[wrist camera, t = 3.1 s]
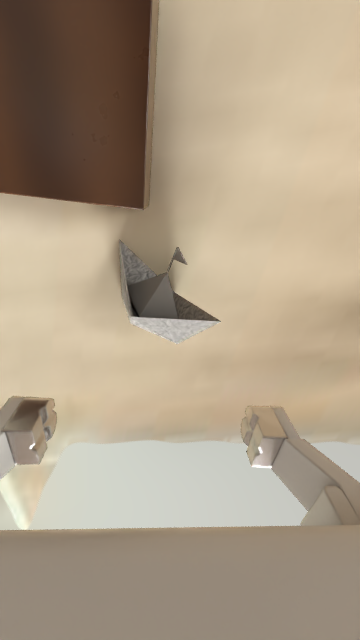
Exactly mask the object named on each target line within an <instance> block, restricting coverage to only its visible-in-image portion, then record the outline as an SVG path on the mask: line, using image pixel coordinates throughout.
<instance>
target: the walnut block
mask: <svg viewBox="0 0 360 640" xmlns="http://www.w3.org/2000/svg"><path fill="white" fill-rule="evenodd" d="M158 15H159V0H0V193H6V194H14V195H23V196H31V197H39V198H48V199H56V200H64V201H72V202H81V203H89V204H97V205H105V206H114V207H122V208H130V209H139V210H144V209H145V208H147V207H148V206H149V194H150V174H151V154H152V134H153V114H154V94H155V74H156V55H157V35H158Z"/></svg>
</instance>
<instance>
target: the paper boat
mask: <svg viewBox="0 0 360 640" xmlns="http://www.w3.org/2000/svg"><path fill="white" fill-rule="evenodd" d="M119 247H120V268H121V290H122V299H123V302H124V305H125V308H126V311H127V314H128V318H129V321H130V324H133V325H135V326H137V327H140V328H142V329H144V330H146V331H149V332H151V333H153V334H156V335H158V336H160V337H162V338H165V339H167V340H169V341H172V342H174V343H176V344H178V343H180V342H182V341H184V340H186V339H188V338H190V337H192V336H194V335H196V334H198V333H200V332H202V331H204V330H206V329H208V328H209V327H211V326H213V325H215V324H217V323H219V322H221V321H219V320H218V319H216V318H215V317H213V316H211V315H210V314H208V313H207V312H205V311H203V310H202V309H200V308H199V307H197V306H195V305H194V304H192V303H191V302H189V301H187V300H186V299H184V298H183V297H181V296H179V295H178V294H176V293H175V292H174V291H173V290H172V289H171V285H170V281H169V276H168V272H169V269H170V267H171V264H172V262H173V259H174V260H177V261H179V262H181V263H184V264H186V265H187V262H186V261H185V259H184V257H183V255H182V253H181V251H180V250H179V248H178V247H177V248H176V250H175V253H174V255H173V258H172V260H171V263H170V265H169V268H168V270H167V272H166V273H163V274H160V275H158V276H157V275H156V274H155V273H154V272H153V271H152V270H151V269H150V268H149V267H148V266H147V265H146V264H144V263H143V262H142V261H141V260H140V259H139V258H138V257H137V256H136V255H135V254H134V253H133V252H132V251H131V250H130V249H129V248H128V247H127V246H126V245H125V244H124V243H123V242H122V241H121V240H120V239H119Z"/></svg>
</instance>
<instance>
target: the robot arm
mask: <svg viewBox="0 0 360 640" xmlns="http://www.w3.org/2000/svg"><path fill="white" fill-rule="evenodd" d="M54 406H55V403H54V399H52V398H39V397H20V396H12V397H11V398H9V399H8V400H7V402H6V403H5V404H4V406H3V407H2V408H1V410H0V479H2V478H3V477H4V476H5V475H6V474H7V473H8V472H9V471H10V470H11V469H13V468H14V467H15V465H22V464H40V462H41V460H42V458H43V456H44V453H45V451H46V449H47V444H46V441H48V440H49V439H50V438H52V436H53V434H54V431H55V428H56V424H57V414H56V412H55V411H54V410H53V408H54ZM245 414H246V417H245V418H243V419H242V423H241V435H242V439H243V442H244V443H245V444H246V445H247V446H248V448H247V451H246V452H247V455H248V458H249V461H250V464H251V467H271V469H272V470H273V472H274V473H275V474H276V475H277V476H278V477H279V478H280V480H281V481H282V482H283V483H284V484H285V485H286V487H287V488H288V489H289V490H290V491H291V492H292V493H293V495H294V496H295V497H296V498H297V499H298V500H299V502H300V503H301V504H302V505H303V506H304V507H305V509H306V510H307V511H308V512H307V514H306V516H305V517H304V519H303V520H302V522H301V526H260V527H259V526H257V527H255V526H254V527H185V528H121V529H120V528H119V529H61V530H59V529H56V530H0V640H360V483H359V482H358V481H357V480H355V479H354V478H353V477H352V476H350V475H349V474H348V473H346V472H345V471H344V470H343V469H341V468H340V467H339V466H338V465H336V464H335V463H334V462H332V461H331V460H330V459H329V458H327V457H326V456H325V455H324V454H322V453H321V452H320V451H318V450H317V449H316V448H315V447H313V446H312V445H311V444H310V443H308V442H307V441H306V440H304V439H300V437H299V435H298V433H297V432H296V430H295V428H294V426H293V424H292V423H291V421H290V419H289V417H288V416H287V414H286V412H285V410H284V409H283V408H282V407H274V406H270V407H269V406H247V408H246V410H245Z"/></svg>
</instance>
